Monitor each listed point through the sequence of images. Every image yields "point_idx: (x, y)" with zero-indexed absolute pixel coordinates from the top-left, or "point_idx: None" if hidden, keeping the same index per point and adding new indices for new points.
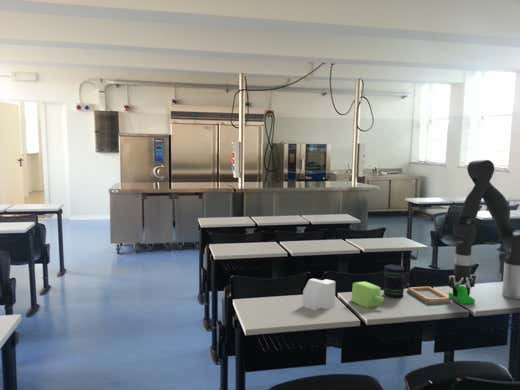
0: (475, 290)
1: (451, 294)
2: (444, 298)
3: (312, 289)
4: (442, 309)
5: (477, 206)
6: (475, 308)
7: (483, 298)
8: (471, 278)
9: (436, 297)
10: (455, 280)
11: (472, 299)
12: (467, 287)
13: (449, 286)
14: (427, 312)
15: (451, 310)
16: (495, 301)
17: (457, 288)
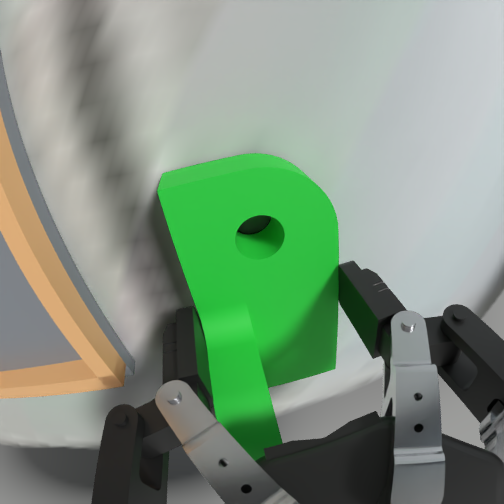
0: (501, 30)
1: (176, 245)
2: (76, 391)
3: None
4: (75, 423)
5: None
6: (275, 399)
7: (459, 214)
8: (486, 430)
9: (18, 303)
10: (225, 488)
11: (313, 375)
12: (384, 350)
13: (112, 425)
14: (21, 434)
15: None
16: (473, 265)
17: (217, 420)
